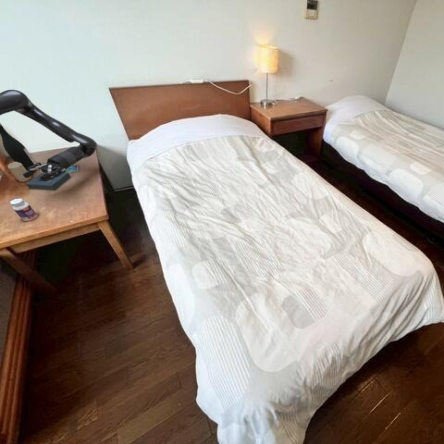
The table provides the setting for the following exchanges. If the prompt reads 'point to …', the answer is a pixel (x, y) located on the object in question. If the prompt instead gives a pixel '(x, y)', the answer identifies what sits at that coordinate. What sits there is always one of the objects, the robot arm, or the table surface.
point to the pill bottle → (23, 209)
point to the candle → (18, 171)
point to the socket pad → (45, 185)
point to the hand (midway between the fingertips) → (32, 177)
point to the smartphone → (71, 169)
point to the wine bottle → (16, 149)
